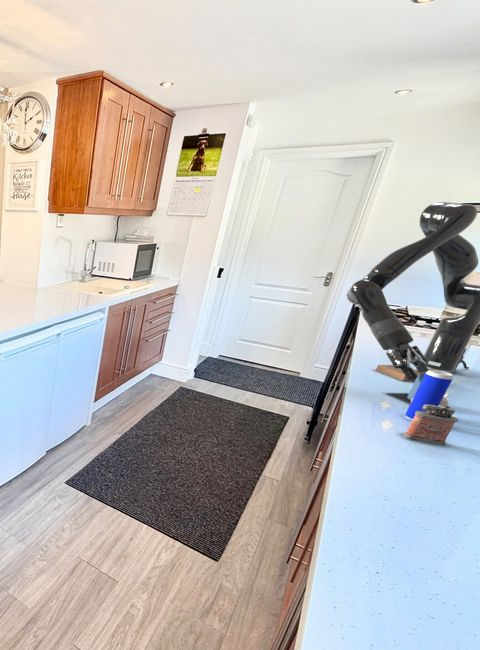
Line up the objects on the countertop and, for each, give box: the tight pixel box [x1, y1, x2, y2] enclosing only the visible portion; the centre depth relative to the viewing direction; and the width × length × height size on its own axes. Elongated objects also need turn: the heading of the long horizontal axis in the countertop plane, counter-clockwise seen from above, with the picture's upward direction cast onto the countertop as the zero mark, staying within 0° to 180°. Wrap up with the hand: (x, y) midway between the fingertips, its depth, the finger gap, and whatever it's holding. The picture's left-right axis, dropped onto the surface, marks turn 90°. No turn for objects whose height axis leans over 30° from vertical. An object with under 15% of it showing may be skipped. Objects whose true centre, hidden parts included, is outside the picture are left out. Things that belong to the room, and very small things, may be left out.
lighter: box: [403, 404, 459, 446], centre depth 105 cm, size 8×3×10 cm, turn 71°
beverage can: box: [404, 370, 454, 421], centre depth 115 cm, size 5×5×15 cm
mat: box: [386, 392, 450, 408], centre depth 130 cm, size 10×10×1 cm
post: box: [407, 372, 426, 400], centre depth 128 cm, size 5×5×9 cm
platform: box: [375, 364, 419, 382], centre depth 151 cm, size 10×10×2 cm
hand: (420, 377), depth 129 cm, fingers open, 8 cm apart
